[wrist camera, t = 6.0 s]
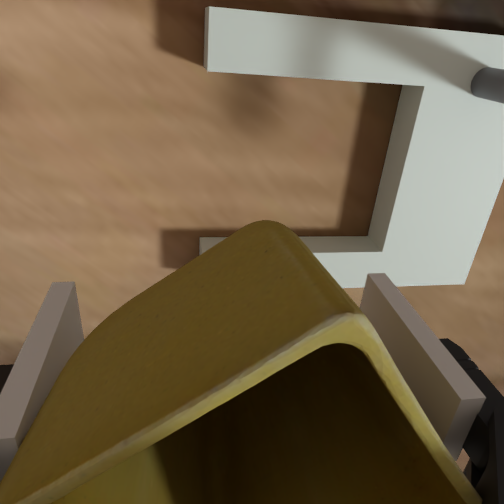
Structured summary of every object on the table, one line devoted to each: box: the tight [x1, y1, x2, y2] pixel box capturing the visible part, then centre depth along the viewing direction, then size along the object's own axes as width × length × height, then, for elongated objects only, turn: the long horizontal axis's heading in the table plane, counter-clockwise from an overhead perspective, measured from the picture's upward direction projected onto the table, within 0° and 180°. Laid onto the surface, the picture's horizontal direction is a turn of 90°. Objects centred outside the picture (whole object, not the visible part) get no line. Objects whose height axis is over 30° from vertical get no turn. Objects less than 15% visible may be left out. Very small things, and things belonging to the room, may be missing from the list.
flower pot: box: [0, 220, 482, 504], centre depth 13 cm, size 9×9×9 cm
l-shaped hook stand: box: [199, 6, 504, 288], centre depth 27 cm, size 24×20×17 cm
